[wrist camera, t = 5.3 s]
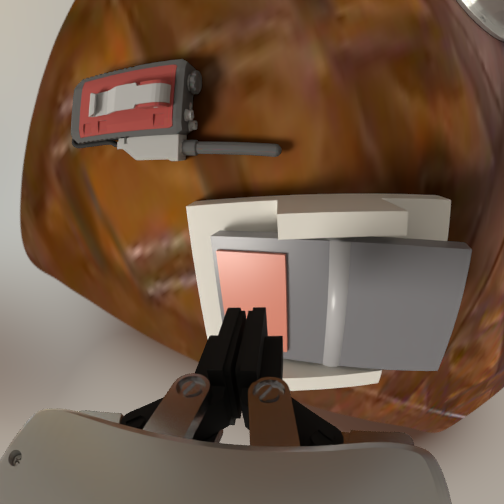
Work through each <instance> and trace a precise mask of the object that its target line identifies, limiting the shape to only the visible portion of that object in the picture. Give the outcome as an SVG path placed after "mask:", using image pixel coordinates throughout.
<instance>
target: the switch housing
mask: <svg viewBox="0 0 504 504" xmlns="http://www.w3.org/2000/svg"><path fill="white" fill-rule="evenodd" d="M186 209H187V217H188V225H189V232H190V239H191V246H192V253H193V259H194V266H195V272H196V278H197V284H198V290H199V296H200V301H201V307H202V312H203V318H204V323H205V328H206V333H207V338H209V336H210V335H218V334H219V331H220V328H221V325H222V318H221V311H220V305H219V298H218V291H217V284H216V276H215V269H214V261H213V254H212V246H211V238H210V236H211V235H213V234H215V233H216V232H218V231H220V230H224V231H260V232H278V240H283V239H309V238H337V237H367V236H376V237H393V238H410V239H425V240H439V241H447V240H448V231H449V222H450V210H451V200H450V199H447V198H444V197H441V196H438V195H420V194H304V195H279V196H259V197H243V198H228V199H215V200H203V201H195V202H193V203H191V204H190V205H188V206H186ZM381 372H382V369H370V368H357V367H346V366H337V367H328V366H325V365H323V364H319V363H311V362H304V361H297V360H290V359H284V358H283V381H285V382H286V383H287V384H288V387H289V389H290V391H295V390H315V389H329V388H341V387H350V386H359V385H367V384H374V383H378V382H379V379H380V376H381Z"/></svg>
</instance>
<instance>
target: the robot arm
mask: <svg viewBox="0 0 504 504" xmlns="http://www.w3.org/2000/svg"><path fill="white" fill-rule="evenodd" d="M456 1H457V2H458V3H459V4H460V6H461V7H462V8H463V9H464V10H465V11H466V12H467V14H468V15H469V16H470V17H471V18H472V19H473V20H474V21H475V22H476V23H477V24H478V25H479V26H481V27H482V28H483V29H484V30H485V31H487V32H488V33H489V34H490V35H492V36H493V37H495V38H497V39H498V40H501V41H503V42H504V0H456ZM241 412H242V413H243V418H244V422H245V427H246V428H248V429H249V430H250V446H247V445H233V444H222V443H219V442H220V440H221V438H222V435H223V429H224V428H226V427H228V426H229V425H235V420H236V418H240V417H241ZM0 504H452V503H451V499H450V494H449V491H448V487H447V483H446V481H445V478H444V475H443V472H442V470H441V468H440V466H439V464H438V462H437V460H436V459H435V457H434V456H433V455H432V454H431V453H430V452H429V451H427V450H425V449H423V448H420V447H417V446H414V442H413V440H412V438H411V437H410V436H409V435H407V434H405V433H402V432H373V431H372V432H371V431H355V430H351V431H350V433H349V432H341V431H340V430H339V429H337V428H336V427H335V426H333V425H332V424H330V423H328V422H327V421H325V420H324V419H322V418H321V417H319V416H318V415H316V414H315V413H313V412H312V411H310V410H309V409H307V408H306V407H305V406H303V405H302V404H300V403H299V402H297V401H296V400H295V399H293V398H292V397H291V394H290V389H289V387H288V384H287V383H286V382H285V381H283V336H268V330H267V315H266V307H253V310H252V311H248V315H247V319H246V312H245V311H241V308H228V309H227V311H226V314H225V317H224V320H223V323H222V325H221V328H220V331H219V334H218V335H210V336H209V338H208V341H207V343H206V346H205V348H204V351H203V353H202V356H201V358H200V361H199V364H198V366H197V369H196V371H195V373H192V374H186V375H183V376H181V377H179V378H178V379H177V380H176V381H175V382H174V383H173V385H172V386H171V388H170V389H169V391H168V392H167V394H166V395H165V397H163V398H161V399H159V400H157V401H155V402H152V403H150V404H148V405H145V406H143V407H141V408H139V409H136V410H134V411H131V412H129V413H128V414H126V415H125V416H123V415H122V414H121V413H109V412H97V411H87V410H85V411H79V412H78V411H73V410H67V409H44V410H41V411H38V412H37V413H35V414H34V415H33V416H32V417H31V418H30V419H29V420H28V421H27V422H26V423H25V424H24V426H23V427H22V428H21V429H20V431H19V432H18V433H17V435H16V437H15V438H14V439H13V441H12V442H11V444H10V445H9V447H8V448H7V450H6V451H5V453H4V455H3V456H2V458H1V460H0Z"/></svg>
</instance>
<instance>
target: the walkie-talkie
mask: <svg viewBox="0 0 504 504" xmlns="http://www.w3.org/2000/svg"><path fill="white" fill-rule="evenodd" d="M195 70H196V69H195V68H194V67H193V66H191V65H190V64H189V63H188V62H187V61H185V60H183V59H177V60H169V61H162V62H156V63H150V64H144V65H138V66H135V67H129V68H128V69H127V68H124V69H123V70H121V69H120V70H118V71H116V70H115V71H114V72H109V73H104V74H100V75H98V76H97V75H96V76H95V77H90V78H86V79H83V80H82V81H81V82H80V83H79V84H78V85H77V86H76V88H75V90H74V96H73V107H72V122H71V135H72V138H73V139H72V145H73V146H74V147H76V148H85V147H92V146H99V145H113V146H114V147H117V149H124V150H125V151H126V152H127V153H128V154H130V155H131V156H132V157H133V158H134V159H136V160H159V159H169V160H170V161H182V160H185V159H186V155H198V154H237V155H258V156H273V157H276V156H279V155H280V154H281V147H280V146H279V145H278V144H270V143H252V142H199V141H198V140H187V136H186V135H187V134H189V133H190V132H191V131H192V130H196V129H197V121H193V118H194V112H193V110H192V107H193V94H199V93H200V91H201V88H202V76H201V73H200V72H199V71H198V70H196V71H195ZM110 140H119V142H116V141H110ZM83 143H85V144H83Z"/></svg>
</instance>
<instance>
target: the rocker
mask: <svg viewBox="0 0 504 504" xmlns="http://www.w3.org/2000/svg"><path fill="white" fill-rule="evenodd" d="M210 238H211V246H212V254H213V261H214V269H215V276H216V284H217V291H218V298H219V305H220V311H221V318H222V323H223V320H224V317H225V314H226V311H227V309H228V308H241V311H245V312H246V319H247V315H248V311H252V310H253V307H266V315H267V330H268V336H283V358H284V359H290V360H297V361H304V362H311V363H319V364H323V365H325V366H328V367H337V366H346V367H357V368H370V369H386V370H412V371H437V370H438V368H439V366H440V363H441V361H442V358H443V356H444V353H445V350H446V348H447V345H448V342H449V339H450V336H451V333H452V330H453V327H454V324H455V321H456V317H457V314H458V311H459V307H460V303H461V300H462V296H463V292H464V288H465V283H466V279H467V274H468V269H469V264H470V259H471V253H472V249H471V248H470V247H469V246H468V245H467V244H466V243H465V242H453V241H439V240H425V239H410V238H393V237H376V236H367V237H337V238H309V239H283V240H278V232H260V231H224V230H220V231H218V232H216V233H215V234H213V235H211V236H210Z"/></svg>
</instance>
